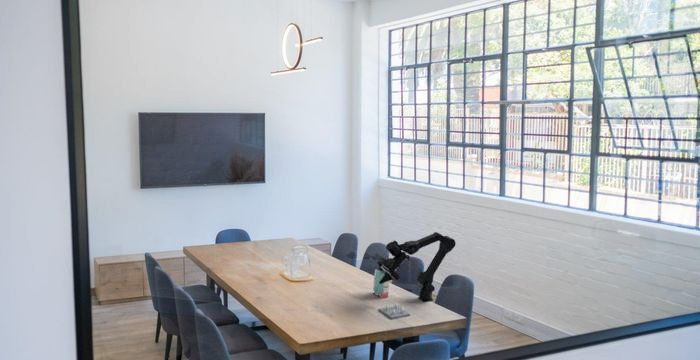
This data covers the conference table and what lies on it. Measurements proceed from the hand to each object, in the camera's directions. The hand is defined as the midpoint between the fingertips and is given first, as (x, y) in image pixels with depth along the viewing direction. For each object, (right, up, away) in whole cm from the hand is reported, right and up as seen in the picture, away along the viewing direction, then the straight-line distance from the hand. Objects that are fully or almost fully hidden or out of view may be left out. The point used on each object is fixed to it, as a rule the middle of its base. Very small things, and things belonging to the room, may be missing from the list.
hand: (377, 281), depth 340 cm
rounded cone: (+1, -6, +2) cm, 7 cm away
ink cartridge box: (+2, -11, +17) cm, 20 cm away
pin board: (+9, -16, -7) cm, 19 cm away
